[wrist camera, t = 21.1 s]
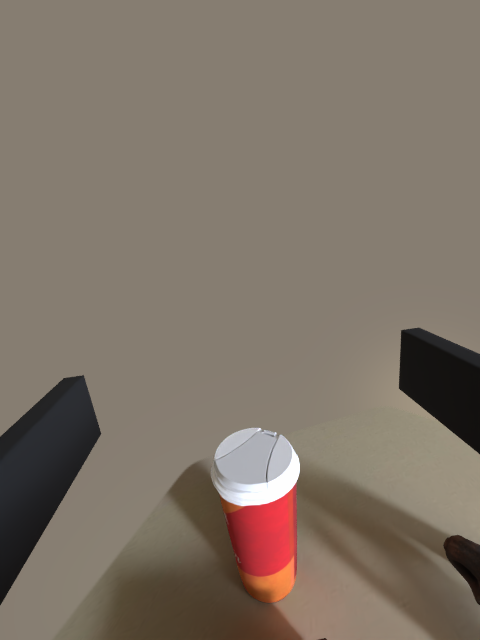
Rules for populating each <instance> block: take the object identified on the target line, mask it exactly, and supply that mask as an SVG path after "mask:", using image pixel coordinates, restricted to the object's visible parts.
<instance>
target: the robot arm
mask: <svg viewBox="0 0 480 640" xmlns="http://www.w3.org/2000/svg"><path fill="white" fill-rule="evenodd" d="M399 389H400V390H401V391H403V392H404V393H405V394H406V395H408V396H409V397H410V398H411V399H413V400H414V401H415V402H416V403H418V404H419V405H420V406H421V407H422V408H424V409H425V410H426V411H427V412H428V413H430V414H431V415H432V416H433V417H435V418H436V419H437V420H438V421H440V422H441V423H442V424H443V425H444V426H446V427H447V428H448V429H449V430H451V431H452V432H453V433H454V434H456V435H457V436H458V437H459V438H461V439H462V440H463V441H464V442H465V443H467V444H468V445H469V446H470V447H472V448H473V449H474V450H475V451H477V452H478V453H479V454H480V354H478V353H476V352H474V351H471V350H469V349H467V348H465V347H462V346H460V345H458V344H455V343H453V342H451V341H448V340H446V339H444V338H441V337H439V336H437V335H434V334H432V333H430V332H428V331H425V330H423V329H421V328H414V329H407V330H402V331H401V352H400V376H399ZM100 435H101V432H100V428H99V425H98V422H97V419H96V415H95V412H94V408H93V405H92V402H91V398H90V395H89V392H88V388H87V385H86V382H85V378H84V376H76V377H70V378H64V379H63V380H62V381H60V382H59V383H58V385H56V386H55V387H54V388H53V389H52V390H51V391H50V392H49V393H47V394H46V395H45V396H44V397H43V398H42V399H41V400H40V401H39V402H38V403H37V404H35V405H34V406H33V407H32V408H31V409H30V410H29V411H28V412H27V413H26V414H25V415H23V416H22V417H21V418H20V419H19V420H18V421H17V422H16V423H15V424H14V425H13V426H11V427H10V428H9V429H8V430H7V431H6V432H5V433H4V434H3V435H2V436H1V437H0V605H1V603H2V602H3V600H4V598H5V597H6V595H7V593H8V591H9V590H10V588H11V586H12V584H13V583H14V581H15V579H16V578H17V576H18V574H19V573H20V571H21V569H22V568H23V566H24V564H25V562H26V561H27V559H28V557H29V556H30V554H31V552H32V551H33V549H34V547H35V545H36V544H37V542H38V540H39V539H40V537H41V535H42V533H43V532H44V530H45V528H46V527H47V525H48V523H49V522H50V520H51V518H52V517H53V515H54V513H55V511H56V510H57V508H58V506H59V505H60V503H61V501H62V500H63V498H64V496H65V494H66V493H67V491H68V489H69V488H70V486H71V484H72V482H73V481H74V479H75V477H76V476H77V474H78V472H79V471H80V469H81V467H82V465H83V464H84V462H85V460H86V459H87V457H88V455H89V454H90V452H91V450H92V448H93V447H94V445H95V443H96V442H97V440H98V438H99V437H100Z"/></svg>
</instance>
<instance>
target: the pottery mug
mask: <svg viewBox="0 0 480 640" xmlns="http://www.w3.org/2000/svg"><path fill="white" fill-rule="evenodd" d="M443 546H444V549H445V551H446V556H447V558H448V560H449V561H450V562H451V564H452V565H453V566H454V567H455V568H456V570H457V571H458V572H459V573H460V574H461V575H462V576H463V577H464V579H465V580H466V581H467V582H468V584H469V585H470V587H471V589H472V592H473V594H474V597H475V600H476V602H477V603H478V604H479V605H480V545H478V544H476V543H474V542H472V541H470V540H468V539H465V538H464V537H462V536H460V535H456V536H451V537H449V538H447V539H446V540H445V542H444V545H443Z"/></svg>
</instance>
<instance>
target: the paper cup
mask: <svg viewBox="0 0 480 640" xmlns="http://www.w3.org/2000/svg"><path fill="white" fill-rule="evenodd" d="M299 472H300V464H299V459H298V457H297V454H296V453H295V451H294V450H293V448H292V446H291V444H290V443H289V441H288V440H287V439H286V438H285V437H284V436H282V435H280V436H279V435H276V433H275V432H272V431H268V430H264V431H263V430H261V428H248V429H244V430H240V431H238V432H235V433H233V434H231V435H230V436H228V437H227V438H226V439H224V441H222V443H221V444H220V445H219V447H218V448H217V450H216V453H215V456H214V460H213V463H212V467H211V478H212V482H213V484H214V486H215V488H216V489H217V491H218V492H219V495H220V499H221V503H222V507H223V511H224V515H225V519H226V523H227V527H228V531H229V535H230V539H231V543H232V547H233V551H234V555H235V558H236V562H237V566H238V570H239V573H240V577H241V580H242V582H243V585H244V587H245V589H246V590H247V592H248V593H249V594H250V595H251V596H252V597H253V598H255V599H257V600H259V601H261V602H265V603H273V602H277V601H279V600H281V599H283V598H284V597H286V596H287V595H288V594H289V592H290V591H291V589H292V588H293V585H294V583H295V579H296V571H297V503H296V481H297V479H298V476H299Z"/></svg>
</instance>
